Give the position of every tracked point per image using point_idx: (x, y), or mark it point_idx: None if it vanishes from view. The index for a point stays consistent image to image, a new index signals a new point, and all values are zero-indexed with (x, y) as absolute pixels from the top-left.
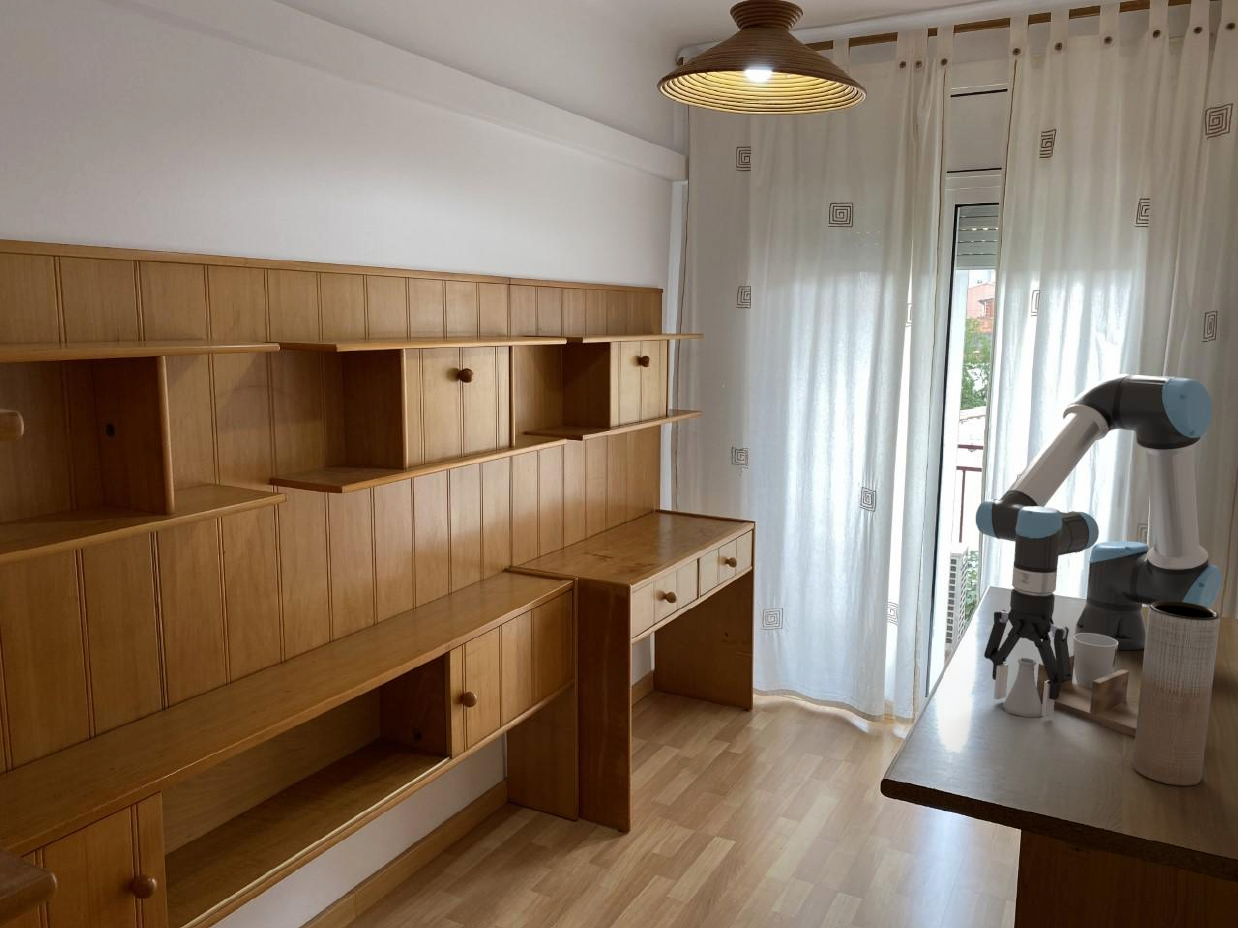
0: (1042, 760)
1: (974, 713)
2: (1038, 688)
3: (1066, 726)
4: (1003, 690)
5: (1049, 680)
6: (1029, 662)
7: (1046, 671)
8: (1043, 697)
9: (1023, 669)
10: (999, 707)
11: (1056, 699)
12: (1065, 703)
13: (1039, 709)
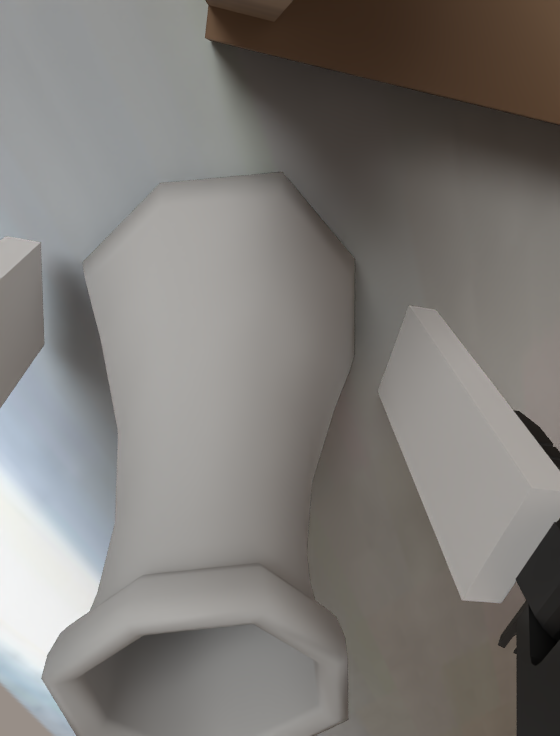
0: (461, 669)
1: (64, 520)
2: (229, 6)
3: (514, 354)
4: (20, 305)
5: (521, 623)
6: (208, 571)
7: (524, 718)
8: (414, 476)
9: (212, 636)
10: (98, 363)
11: (420, 26)
12: (510, 79)
13: (349, 345)
